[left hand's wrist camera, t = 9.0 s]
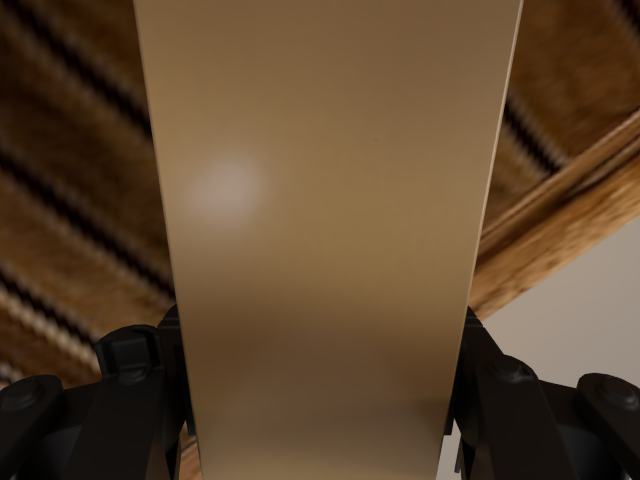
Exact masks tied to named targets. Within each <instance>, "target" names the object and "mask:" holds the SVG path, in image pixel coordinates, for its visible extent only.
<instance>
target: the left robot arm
mask: <svg viewBox="0 0 640 480" xmlns="http://www.w3.org/2000/svg"><path fill="white" fill-rule="evenodd" d="M94 347H95V351H96V355H97V359H98V362H99V366H100V370H101V373H102V380H101V381H100V382H96V383H93V384H88V385H84V386H79V387H75V388H70V389H65V390H64V388H63V385H62V382H61V380H60V379H59V378H58V377H56V376H53V375H47V374H44V375H37V376H31V377H28V378H25V379H21V380H19V381H17V382H15V383H13V384H11V385H9V386H7V387H5V388H3V389H2V390H1V391H0V480H10V479H11V480H179V470H180V460H181V443H180V438H179V434H180V432H181V429H182V427H183V424H184V422H185V420H186V424H187V429H188V435H196V431H195V424H194V417H193V410H192V404H191V397H190V390H189V383H188V376H187V369H186V362H185V355H184V349H183V342H182V335H181V328H180V321H179V314H178V307H177V304H176V305H174V306H173V307H171V308H170V309H169V311H168V312H167V313H166V315H165V316H164V318H163V320H161V322H160V323H159V325H158V326H157V328H155V327H154V326H150V325H146V324H143V325H131V326H127V327H122V328H120V329H117V330H115V331H113V332H110V333H109V334H107V335H106V336H104V337H103V338H101V339H100V340H99V341H98V343H97V344H96V345H95V346H94ZM454 418H455V421H456V423H457V425H458V428H459V430H460V433H461V438H460V443H459V448H458V454H457V459H456V464H455V471H454V472H456V473H459V471H460V469H461V479H462V480H629V478H631V479H632V480H640V389H639V388H638V387H637V386H635V385H633V384H631V383H629V382H627V381H625V380H623V379H621V378H618V377H614V376H611V375H608V374H600V373H589V374H585V375H583V376H582V377H581V378H579V381H578V384H577V387H576V388H573V387H568V386H563V385H559V384H554V383H549V382H546V381H542V380H539V379H538V377H537V375H536V374H535V372H534V371H533V370H532V368H530V367H529V366H528V365H526V364H525V363H524V362H522V361H520V360H518V359H516V358H514V357H512V356H508V355H504V354H503V353H502V351H501V350H500V348H499V347H498V345H497V344H496V343H495V341H494V340H493V339H492V337H491V336H490V334H489V333H488V332H487V330H486V329H485V328H484V327H483V325H482V323H481V322H480V320H479V319H477V316H476V315H475V314H474V312H473V311H472V309H471V308H470V307H469V306H468V307H467V312H466V317H465V323H464V328H463V334H462V339H461V345H460V350H459V356H458V361H457V366H456V372H455V377H454V383H453V388H452V394H451V399H450V405H449V410H448V415H447V421H446V426H445V432H444V435H451V434H452V428H453V422H454Z"/></svg>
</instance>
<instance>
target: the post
mask: <svg viewBox="0 0 640 480" xmlns="http://www.w3.org/2000/svg"><path fill="white" fill-rule="evenodd" d="M523 2H524V0H133V5H134V12H135V19H136V26H137V33H138V39H139V46H140V53H141V60H142V67H143V74H144V81H145V87H146V94H147V101H148V108H149V115H150V122H151V129H152V136H153V142H154V149H155V156H156V163H157V170H158V177H159V184H160V191H161V197H162V204H163V211H164V218H165V225H166V232H167V239H168V246H169V252H170V259H171V266H172V273H173V280H174V287H175V294H176V300H177V307H178V314H179V321H180V328H181V335H182V342H183V349H184V355H185V362H186V369H187V376H188V383H189V390H190V397H191V404H192V410H193V417H194V424H195V431H196V438H197V445H198V452H199V459H200V465H201V472H202V479H203V480H436V475H437V470H438V464H439V459H440V453H441V448H442V443H443V437H444V432H445V426H446V421H447V415H448V410H449V405H450V399H451V394H452V388H453V383H454V377H455V372H456V366H457V361H458V356H459V350H460V345H461V339H462V334H463V328H464V323H465V317H466V312H467V307H468V301H469V296H470V290H471V285H472V279H473V274H474V268H475V263H476V258H477V252H478V247H479V241H480V236H481V230H482V225H483V219H484V214H485V209H486V203H487V198H488V192H489V187H490V181H491V176H492V170H493V165H494V160H495V154H496V149H497V143H498V138H499V132H500V127H501V121H502V116H503V111H504V105H505V100H506V94H507V89H508V83H509V78H510V72H511V67H512V62H513V56H514V51H515V45H516V40H517V34H518V29H519V24H520V18H521V13H522V7H523Z"/></svg>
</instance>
